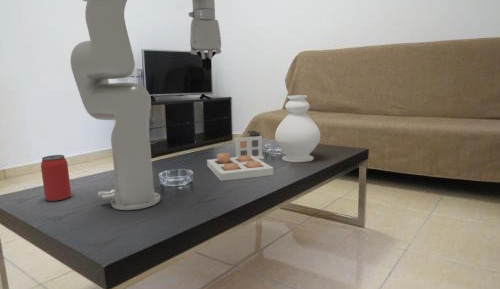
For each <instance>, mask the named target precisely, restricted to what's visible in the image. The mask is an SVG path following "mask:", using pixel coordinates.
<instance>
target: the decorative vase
mask: <svg viewBox="0 0 500 289" xmlns="http://www.w3.org/2000/svg"><path fill="white" fill-rule="evenodd" d="M287 98H288V99H289V100H288V101H287V102H285V105H284V108H285V110H286V111H287V112H288V114H287V115H286V116H285V117H284V118H283V119H282V120H281V121H280V123H279V124H278V126H277V127H276V129H275V134H274V140H275V143H276V144H277V146H278V147H279V148H280V150H281V151H282V152H283V153H284V155H283V156H281V160H282V161H285V162H288V163H289V162H291V163H304V162H305V163H307V162H311V161H313V160H314V155H311V153H312V152H313V151H314V150H315V148H316V147H317V146H318V144H319V143H320V140H321V131H320V129H319V127H318V125H317V124H316V122H315V121H314V120H313V119H312V118H311V117H310V116H309V114H307V113H306V112H307V111H308V110H309V109H310V107H311V106H310V103H309V101H307V100H306V99H308V95H307V94H306V95H304V94H292V95H291V94H290V95H287Z"/></svg>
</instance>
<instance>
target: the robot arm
mask: <svg viewBox="0 0 500 289" xmlns="http://www.w3.org/2000/svg"><path fill="white" fill-rule="evenodd" d="M82 1H84V2H86V4H85V13H84V14H85V16H84V17H85V22H86V27H87V32H88V36H89V40H85V41H82V42H79V43H77V45H75V46H74V47H73V49H72V51H71V54H70V66H71V71H72V75H73V78H74V82H75V84H76V87H77V89H78V93H79V96H80V99H81V102H82V104H83V107H84V109H85V110H86V113H88V115H89V116H91V117H92V118H94V119H96V120H100V121H115V124H114V126H113V128H112V132H111V137H110V139H111V140H110V143H111V152H112V160H113V162H112V163H113V164H112V165H113V173H114V183H115V185H114V188H111V189H110V190H99V191H97V196H98V199H102V201H107V200H110V205H111V207H112V208H113V209H115V210H118V211H119V210H120V211H137V210H141V209H146V208H150V207H153V206H156V205H157V204H158V203H159V202H160V201H161V194H159V193H158V192H155V188H154V186H155V185H154V177H153V174H154V173H153V163H152V150H151V141H150V115H151V107H152V99H151V98H152V97H151V95H150V93H149V91H148V90H147V88H146V87H144V86H143V85H141V84H139V83H134V82H112V83H110V81H109V80H114V79H117V80H118V79H123V78H127V77H130V76H131V75H132V74H133V73H134V71H135V68H136V67H135V66H136V65H135V59H134V53H133V49H132V45H131V40H130V37H129V33H128V30H127V25H126V20H125V19H126V18H125V8H126V6H127V2H128V0H82ZM191 4H192V11H191V12H188V17H189V18H190V17H191V18H192V19H191V23H190V40H189V42H190V54H191V55H195V56H198V58H200V60H201V68H202V70H203V72H210V71H211V69H212V59H213V57H214V56H215V55H218V54H221V53H222V49H221V48H222V38H221V31H220V25H219V21H218V19H216V8H215V7H216V5H215V0H192V3H191ZM206 52H207V54H205V53H206Z"/></svg>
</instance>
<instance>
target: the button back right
mask: <svg viewBox="0 0 500 289" xmlns="http://www.w3.org/2000/svg"><path fill="white" fill-rule="evenodd" d="M246 161H251V156H249V155H242V156H238V162H246Z"/></svg>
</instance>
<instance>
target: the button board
mask: <svg viewBox="0 0 500 289" xmlns="http://www.w3.org/2000/svg"><path fill="white" fill-rule="evenodd" d="M251 161H258V162H260V167H256V168H247V166H246V163H247V162H250V161H246V162H238V157H236V156H234V157H231V156H230V163H237V164H238V170H229V171H224V164H220V163H217V158H213V159H206V163H207V164H206V165H207V167H208V169H210V170H211V172H212V173H213V174H214V175H215V176H216V177H217V178H218V180H219V181H220V182H224V181H234V180H242V179H249V178H250V179H251V178H261V177H266V176H267V177H268V176H274V175H275V174H274V167H273V166H271V165H269V164H267V163H266V162H264V161H262V159H260V160H259V159H257V158H256V157H254V156H251ZM226 164H227V163H226Z"/></svg>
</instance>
